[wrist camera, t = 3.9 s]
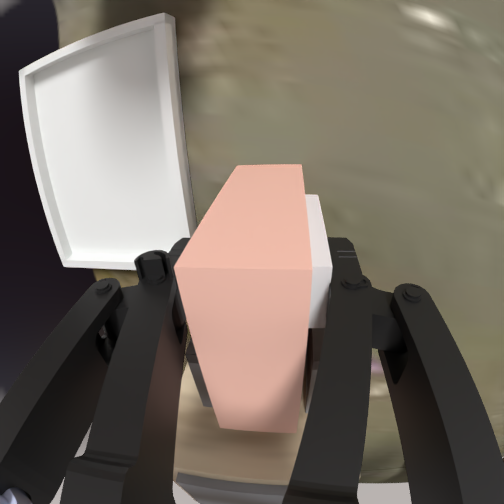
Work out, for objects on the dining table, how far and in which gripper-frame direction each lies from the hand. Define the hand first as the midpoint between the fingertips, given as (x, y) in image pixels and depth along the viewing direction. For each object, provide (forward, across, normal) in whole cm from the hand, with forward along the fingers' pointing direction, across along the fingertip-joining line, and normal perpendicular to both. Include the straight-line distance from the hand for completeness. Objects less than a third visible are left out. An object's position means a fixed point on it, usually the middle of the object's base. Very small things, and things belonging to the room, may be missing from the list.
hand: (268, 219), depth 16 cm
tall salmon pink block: (+2, 0, +2) cm, 3 cm away
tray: (+2, +10, -4) cm, 11 cm away
